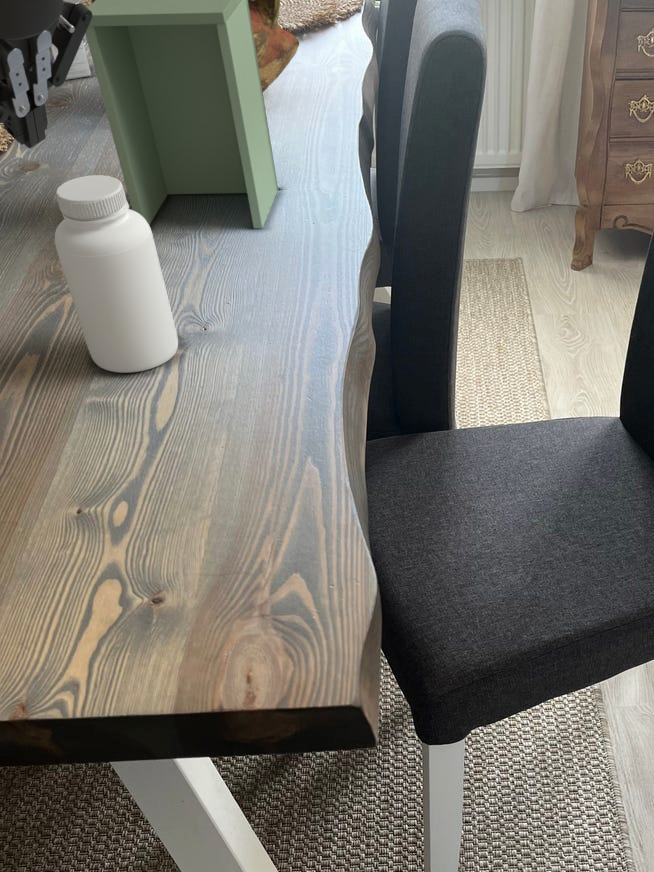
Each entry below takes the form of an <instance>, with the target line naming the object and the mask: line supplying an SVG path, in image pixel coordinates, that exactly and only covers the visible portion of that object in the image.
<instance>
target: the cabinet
mask: <svg viewBox="0 0 654 872" xmlns="http://www.w3.org/2000/svg"><path fill="white" fill-rule="evenodd" d="M87 8H88V9H89V10H90V11H91V12H92V19H91V21H90V24H89V26H88V28H87V31H86V33H85V37H86V41H87V46H88V48H89V52H90V56H91V60H92V63H93V68H94V72H95V76H96V79H97V83H98V86H99V89H100V94H101V97H102V101H103V104H104V109H105V114H106V116H107V120H108V124H109V127H110V131H111V136H112V139H113V142H114V146H115V149H116V153H117V154H116V155H117V158H118V162H119V165H120V169H121V172H122V176H123V180H124V185H125V187H126V192H127V195H128V199H129V203H130V206H131V210H133V211H135V212H137V213H139V214H140V215H141V216H143V217H144V219H145V220H146V221H147V223H148V224H149V226H150V225H151V224H152V222H153V220H154V218H155V217H156V215H157V213H158V211H159V210H160V208H161V206H162V204H164V201H165V200H166V198H167V196H168V195H211V194H214V195H215V194H218V195H219V194H220V195H221V194H247V200H248V205H249V211H250V215H251V221H252V227H253V229H263V228H264V226H265V223H266V221H267V219H268V216H269V213H270V211H271V208H272V206H273V204H274V201H275V198H276V196H277V195H278V191H279V184H278V179H277V178H278V177H277V172H276V166H275V159H274V154H273V147H272V143H271V142H272V141H271V135H270V130H269V123H268V117H267V109H266V104H265V98H264V97H265V96H264V92H263V91H262V85H261V79H260V73H259V66H258V60H257V54H256V48H255V42H254V35H253V29H252V23H251V17H250V11H249V5H248V0H95V1H94V2H93V3H92V2H91V4H90V5H89V6H87Z"/></svg>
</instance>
